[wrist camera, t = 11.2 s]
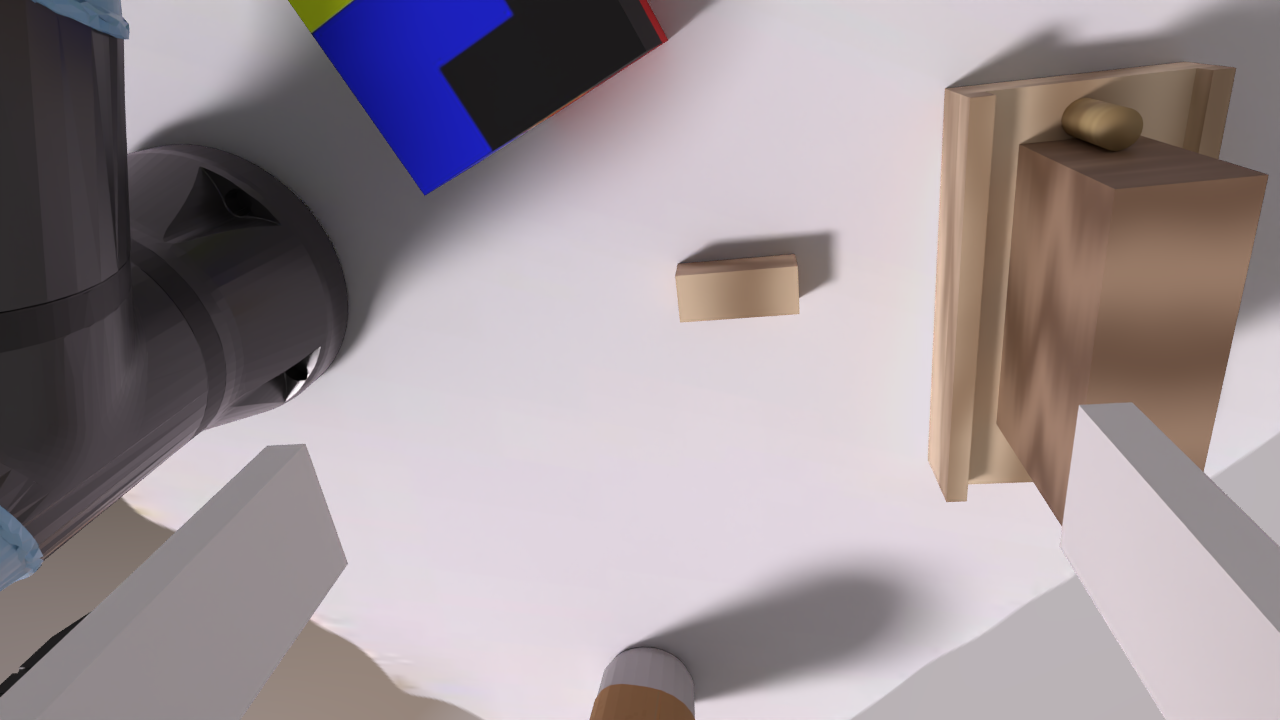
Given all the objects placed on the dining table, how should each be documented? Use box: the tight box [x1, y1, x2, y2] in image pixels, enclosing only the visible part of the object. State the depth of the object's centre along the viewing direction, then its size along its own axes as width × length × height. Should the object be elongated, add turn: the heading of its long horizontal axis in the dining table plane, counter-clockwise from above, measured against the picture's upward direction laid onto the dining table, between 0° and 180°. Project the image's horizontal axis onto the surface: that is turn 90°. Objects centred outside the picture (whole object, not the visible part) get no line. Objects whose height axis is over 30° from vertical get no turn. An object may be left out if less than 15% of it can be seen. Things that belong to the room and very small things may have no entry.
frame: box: [996, 135, 1268, 526], centre depth 31 cm, size 14×4×9 cm, turn 7°
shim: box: [675, 254, 799, 322], centre depth 38 cm, size 6×2×2 cm, turn 97°
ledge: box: [928, 62, 1236, 502], centre depth 35 cm, size 10×20×6 cm, turn 7°
